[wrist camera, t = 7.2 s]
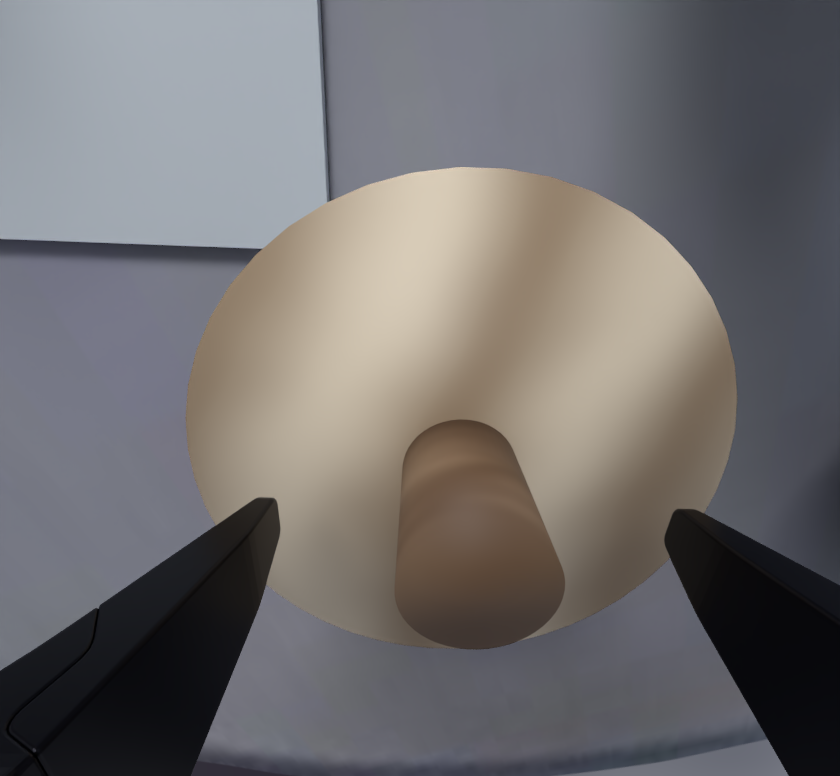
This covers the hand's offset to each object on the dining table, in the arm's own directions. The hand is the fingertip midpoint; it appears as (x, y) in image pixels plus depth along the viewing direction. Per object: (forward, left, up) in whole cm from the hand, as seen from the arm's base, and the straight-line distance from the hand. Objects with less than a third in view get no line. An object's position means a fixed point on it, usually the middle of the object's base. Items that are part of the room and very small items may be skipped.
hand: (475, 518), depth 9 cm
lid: (0, 0, -3) cm, 3 cm away
